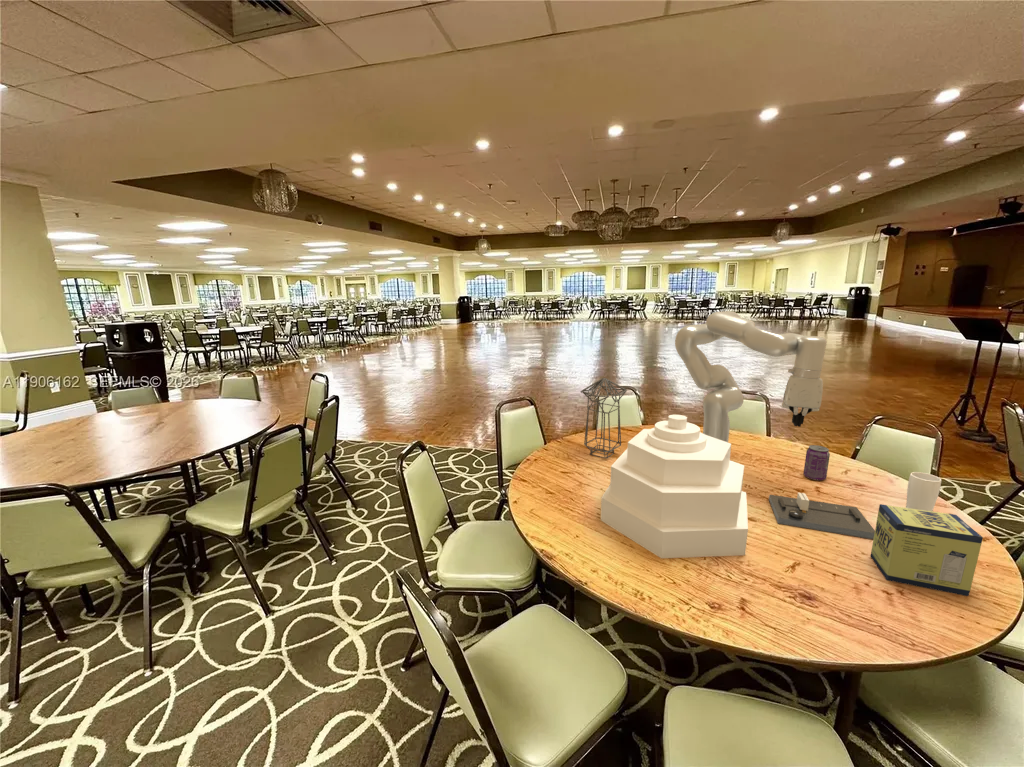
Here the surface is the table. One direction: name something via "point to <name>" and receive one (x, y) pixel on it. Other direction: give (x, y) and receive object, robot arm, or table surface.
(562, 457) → the table surface
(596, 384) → the geometric lantern
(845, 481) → the table surface
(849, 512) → the console
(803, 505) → the fader
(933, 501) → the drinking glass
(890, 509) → the protein box
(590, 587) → the table surface
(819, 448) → the beverage can
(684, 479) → the tiered cake
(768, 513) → the table surface
